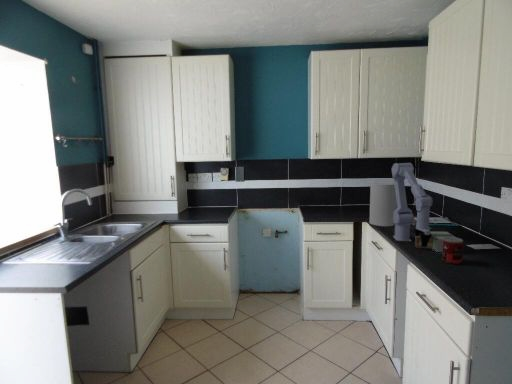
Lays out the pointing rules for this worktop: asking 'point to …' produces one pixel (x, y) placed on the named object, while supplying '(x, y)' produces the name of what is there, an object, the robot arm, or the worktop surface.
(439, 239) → the grey block
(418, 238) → the brown-tipped cream rod
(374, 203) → the cylinder
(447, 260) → the canned food
